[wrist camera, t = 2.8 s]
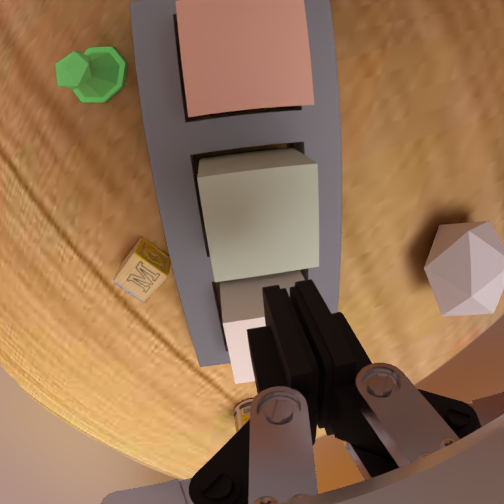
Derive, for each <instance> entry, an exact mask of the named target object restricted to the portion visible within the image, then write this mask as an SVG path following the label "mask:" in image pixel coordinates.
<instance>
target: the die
mask: <svg viewBox="0 0 504 504" xmlns="http://www.w3.org/2000/svg"><path fill="white" fill-rule="evenodd" d="M424 270H425V272H426V275H427V277H428V280H429V282H430V285H431V288H432V290H433V293H434V295H435V298H436V301H437V304H438V306H439V309H440V312H441V315H442V316H453V315H476V314H493V313H494V311H495V309H496V306H497V304H498V302H499V299H500V297H501V294H502V292H503V289H504V245H503V243H502V241H501V240H500V238H499V236H498V235H497V233H496V231H495V230H494V228H493V226H492V225H491V223H490V222H489V221H483V222H470V223H457V224H444V225H439V227H438V230H437V233H436V236H435V239H434V242H433V245H432V247H431V250H430V253H429V256H428V258H427V261H426V263H425V266H424Z"/></svg>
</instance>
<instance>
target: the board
mask: <svg viewBox="0 0 504 504" xmlns="http://www.w3.org/2000/svg"><path fill="white" fill-rule="evenodd" d="M175 1H178V0H137V1H133V2H130V12H131V24H132V36H133V46H134V56H135V65H136V73H137V81H138V89H139V97H140V104H141V111H142V117H143V124H144V130H145V136H146V142H147V148H148V154H149V160H150V165H151V171H152V176H153V181H154V186H155V191H156V196H157V201H158V206H159V211H160V216H161V220H162V225H163V229H164V234H165V238H166V243H167V247H168V251H169V255H170V260H171V264H172V268H173V272H174V276H175V280H176V284H177V288H178V291H179V295H180V299H181V303H182V306H183V310H184V314H185V317H186V321H187V325H188V328H189V332H190V335H191V339H192V342H193V345H194V349H195V352H196V355H197V359H198V362H199V365H200V367H203V366H211V365H219V364H227V363H231V361H230V356H229V351H228V346H227V342H226V337H225V332H224V328H223V323H222V318H221V312H220V307H219V302H218V297H217V292H216V286H215V280H214V275H213V269H212V264H211V258H210V252H209V247H208V241H207V236H206V230H205V225H204V219H203V213H202V206H201V200H200V194H199V188H198V181H197V175H196V168H195V161H194V155H193V154H199V153H206V152H213V151H220V150H227V149H235V148H243V147H252V146H261V145H270V144H281V143H292V142H293V148H294V149H296V150H298V151H299V152H301V153H302V154H304V155H305V156H307V157H308V158H310V159H311V160H313V161H314V162H316V163H318V194H319V267H313V268H307V269H301V270H300V271H301V273H302V275H303V277H304V279H305V280H309V279H312V281H313V282H314V284H315V286H316V287H317V289H318V291H319V293H320V294H321V296H322V298H323V300H324V301H325V303H326V305H327V307H328V309H329V310H330V312H331V314H332V313H337V311H338V297H339V281H340V261H341V232H342V151H341V122H340V103H339V87H338V74H337V62H336V51H335V41H334V32H333V24H332V15H331V8H330V0H304V5H305V13H306V21H307V30H308V39H309V49H310V59H311V70H312V81H313V94H314V105H301V106H290V108H287V109H273V110H261V111H251V112H241V113H232V114H224V115H216V116H209V117H202V118H195V119H188V111H187V104H186V96H185V88H184V80H183V71H182V63H181V54H180V45H179V35H178V23H177V13H176V2H175Z"/></svg>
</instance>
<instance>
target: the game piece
mask: <svg viewBox="0 0 504 504" xmlns="http://www.w3.org/2000/svg"><path fill="white" fill-rule="evenodd" d="M55 66H56V78H57V86H61V87H65V88H69V89H72V91H73V92H74V93H75V94H76V96H77V97H78V98H79V99H80V101H81V102H108V101H109V100H110V99H111V98H112V97H113V96H114V95H115V94H117V93H118V92H119V91H120V90H121V89H122V88H123V87H125V80H126V73H127V67H128V63H127V62H126V61H125V60H124V58H123V57H122V56H121V55H120V54H119V52H118V51H117V50H116V49H115V48H114V47H90V48H89V49H88V50H86V51H85V52H84V53H83V54H82V53H80V52H77V51H73V52H72V53H70V54H69V55H67V56H66V57H64V58H63V59H62V60H60V61H59V62H57V63H56V64H55Z"/></svg>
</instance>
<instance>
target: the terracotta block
mask: <svg viewBox="0 0 504 504" xmlns="http://www.w3.org/2000/svg"><path fill="white" fill-rule="evenodd" d="M175 2H176V13H177V23H178V33H179V43H180V52H181V61H182V70H183V78H184V86H185V94H186V102H187V110H188V117H193V116H200V115H207V114H214V113H222V112H230V111H238V110H248V109H258V108H270V107H284V106H301V105H314V94H313V81H312V70H311V59H310V49H309V39H308V30H307V21H306V13H305V5H304V0H178V1H175Z"/></svg>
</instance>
